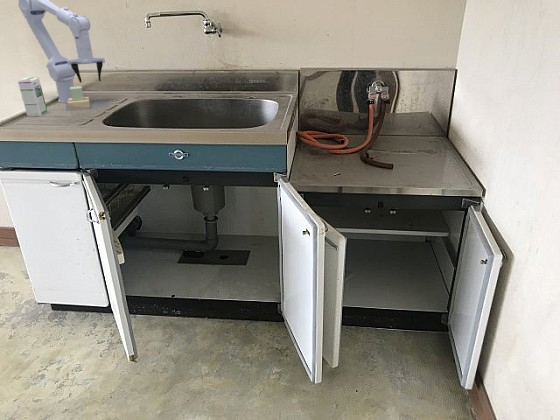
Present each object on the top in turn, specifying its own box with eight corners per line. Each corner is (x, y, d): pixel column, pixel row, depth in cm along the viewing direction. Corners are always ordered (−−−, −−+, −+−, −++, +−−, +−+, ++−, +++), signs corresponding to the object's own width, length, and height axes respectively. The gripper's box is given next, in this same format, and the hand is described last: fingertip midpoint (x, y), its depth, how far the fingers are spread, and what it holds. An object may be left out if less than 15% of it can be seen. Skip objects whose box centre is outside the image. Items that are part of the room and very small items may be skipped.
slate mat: (66, 104, 204) (66, 103, 204) (107, 100, 209) (107, 99, 209) (65, 112, 192) (65, 111, 192) (109, 108, 197) (109, 106, 197)
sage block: (72, 99, 197) (69, 87, 195) (83, 98, 199) (81, 86, 197) (72, 101, 194) (70, 89, 191) (84, 100, 195) (81, 88, 193)
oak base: (69, 105, 200) (68, 98, 198) (89, 103, 202) (88, 96, 201) (69, 110, 193) (68, 102, 192) (90, 108, 196) (88, 100, 194)
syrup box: (41, 117, 186) (32, 79, 180) (26, 117, 186) (17, 80, 180) (48, 113, 191) (39, 76, 185) (33, 113, 191) (24, 77, 185)
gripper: (64, 50, 190) (71, 84, 196) (102, 48, 194) (108, 81, 200) (65, 48, 195) (72, 81, 202) (102, 46, 200) (107, 78, 206)
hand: (90, 81), depth 201 cm, fingers open, 7 cm apart
